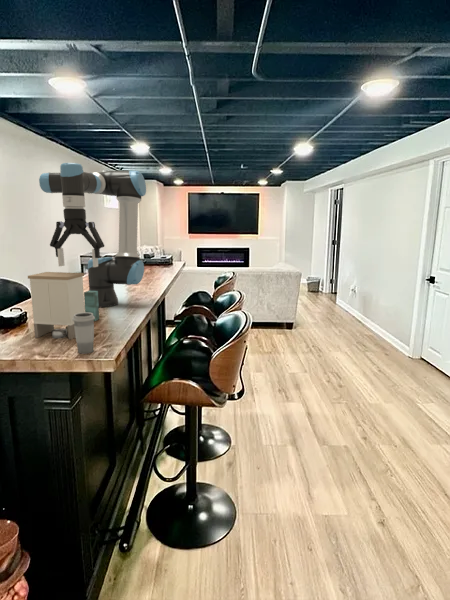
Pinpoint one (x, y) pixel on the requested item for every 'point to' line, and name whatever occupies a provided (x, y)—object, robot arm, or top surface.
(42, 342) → the top surface
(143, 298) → the top surface
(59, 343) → the top surface
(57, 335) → the steel puck
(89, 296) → the teal mallet
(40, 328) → the cupboard
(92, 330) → the cup
